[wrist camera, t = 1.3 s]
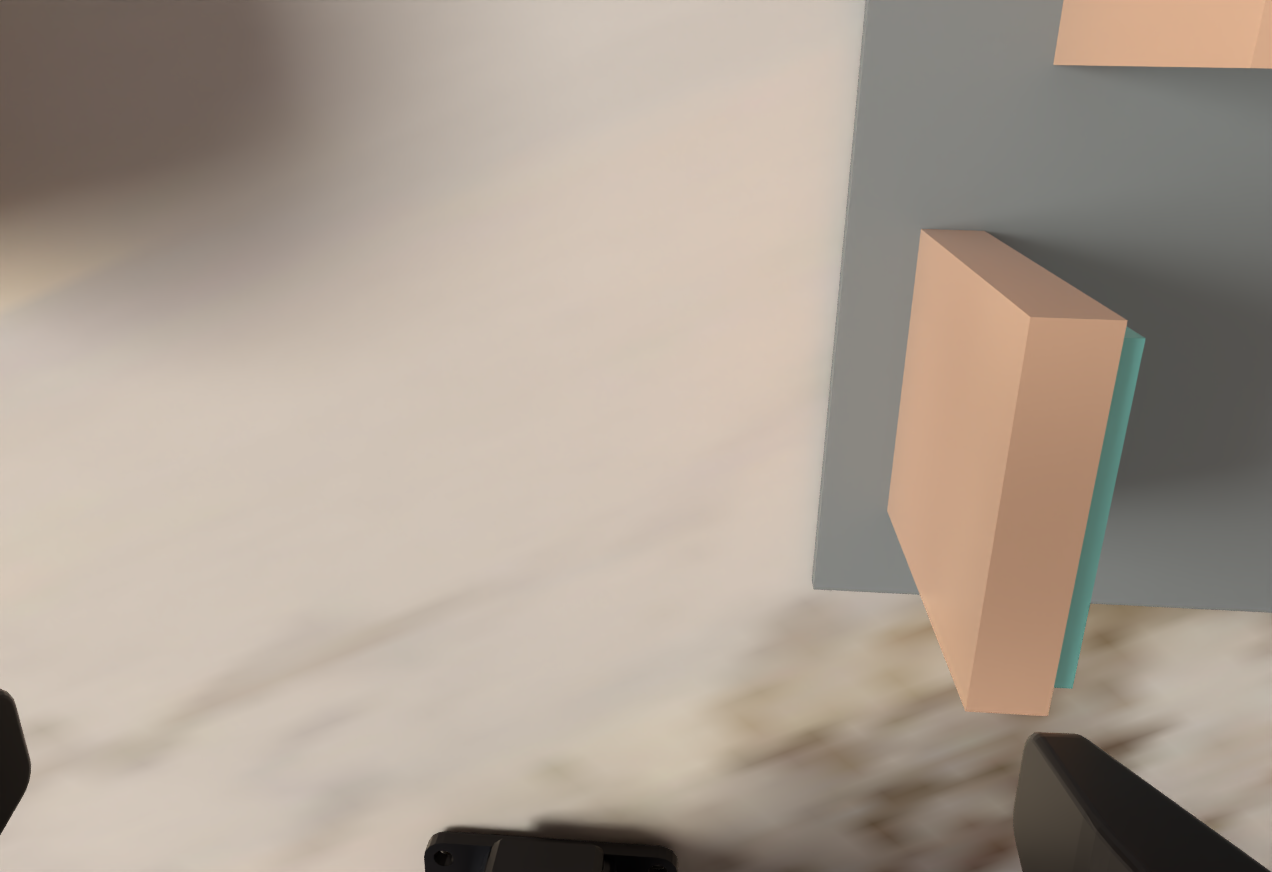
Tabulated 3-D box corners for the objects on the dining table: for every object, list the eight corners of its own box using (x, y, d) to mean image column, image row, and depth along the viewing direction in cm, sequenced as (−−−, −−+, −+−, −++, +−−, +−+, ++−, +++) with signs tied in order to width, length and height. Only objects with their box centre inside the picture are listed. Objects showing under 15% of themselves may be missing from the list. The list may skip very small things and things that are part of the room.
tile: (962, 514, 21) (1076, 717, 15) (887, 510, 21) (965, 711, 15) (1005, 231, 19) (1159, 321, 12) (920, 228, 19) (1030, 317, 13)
